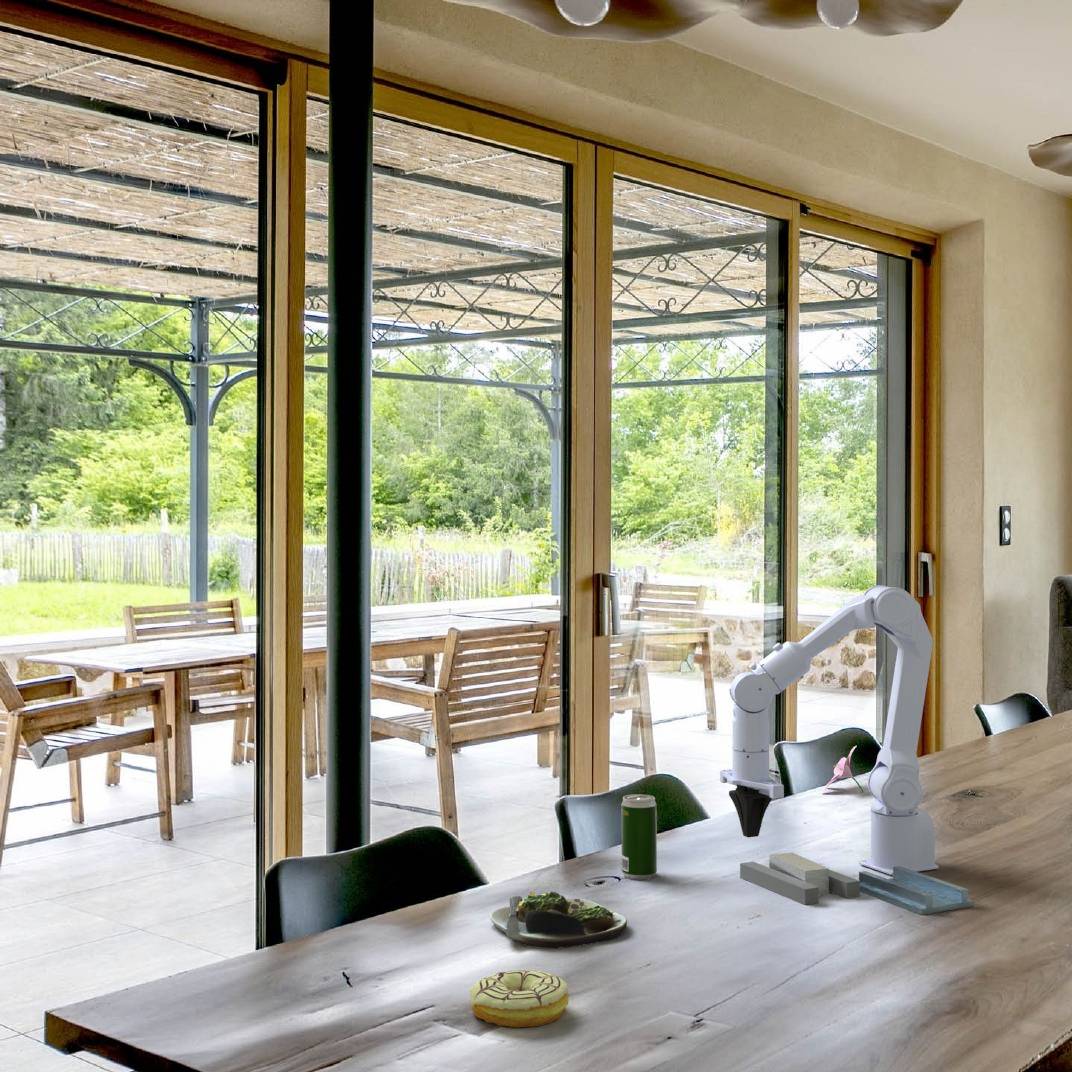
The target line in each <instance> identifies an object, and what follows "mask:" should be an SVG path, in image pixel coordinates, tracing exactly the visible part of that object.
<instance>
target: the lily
mask: <svg viewBox="0 0 1072 1072" xmlns="http://www.w3.org/2000/svg"><path fill="white" fill-rule="evenodd" d="M856 748H857V745H855V746H853V747H852V749H850V751H849V754H848V756H847V757H841V758H840V759H839V761H838V763H835V764H833V766H832V768H834V769H833V773H834V774H833V777H832V778H831V779H830V781H829V782H828V783H827V784H826V785H825V786H824V788H823V790H822V793H823V794H824V792H825V791H826V789H827V788H828V787H829V786H830V784H832V783H834V782H836V781H839V780H843V779H847V778H851V779H853V781H854V782H855V783H856V784H857V786H858V788H859V789H860V791H861V792H862V793H863V792H865V791H864V790H863V788H862V786H861V785H860V784H859V782H858V781H857V779H856V778H855V777H854V776H853V774H852V771H851V770H852V768H851V757H852V754H853V752H854V751H855V749H856ZM822 793H821V794H822Z"/></svg>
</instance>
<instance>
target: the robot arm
mask: <svg viewBox="0 0 1072 1072" xmlns="http://www.w3.org/2000/svg"><path fill="white" fill-rule="evenodd" d="M924 618H925V617H924V616H923V613H922V610H921V604H920V603H919V602H918V601H917V600H916V599H915V598H914V597H913V596H912V595H911V594H910V593H909V592H908V591H906V590H905V589H903V588H902V587H898V586H897V587H890V586H887V585H883V584H877V585H874V586H871V587H869V588H868V589H867V590H865V592H864V593H863V594H859V595H857V596H855V597H853V598H852V599H851V600H849V601H848V602H847V603H845V604H844V605H843V606H841V607H840V608H839V609H838V610H837V611H835V612H834V613H832V615H830V616H829V617H828V618H827V619H825V620H824V621H823V622H822V623H821V624H819V625H818V626H817V627H815V629H814V630H812V631H811V632H810V633H808V635H806V636H805V637H803V639H801V640H800V641H798V642H796V641H795V642H794V641H785V642H783V643H782V644H781V643H780V642H777V643H775V645H773V646H772V649H773V651H772V652H771V653H769V654H768V655H766V656H765V657H764V658H762V659H761V660H760V661H758V663H755V662H753V663H751V664H749V666H748V668H749V669H750V671H746V672H742V673H740V674H738V675H736V676H735V678H734V679H733V680H732V683H731V685H730V688H729V690H728V692H729V696H730V698H731V700H732V701H733V702H734V704H733V708H732V715H733V719H732V769H729V768H728V769H721V770H719V782H720V783H723V784H726V783H727V784H729V785H731V786H732V785H733V786H736V787H735V789H734V790H733V789H732V790H728V796H729V797H730V799H731V801H732V803H733V805H734V808H735V811H736V813H737V816H738V820H739V824H740V828H741V832H742V835H743V836H744V837H745V838H755V837H759V835H760V832H761V828H762V824H763V823H762V822H763V819H764V817H765V814H766V811H767V809H768V807H769V805H770V803H771V801H772V800H773V799H783V798H784V796H785V793H784V792H785V790H784V789H785V787H784V786H785V785H784V784H781V783H779V782H777V781H776V780H775V779H773V778H772V777H770V720H769V707H770V705H772V701H773V700H774V695H779V694H780V693H783V691H785V690H786V689H787V688H789V686H791V685H793V684H794V683H795V682H796V681H798V680H799V679H800V678H801V677H803V676H804V675H806V674H807V673H808V672H809V671H810V670H811V663H812V661H813V660H812V659H814V658H815V657H816V656H818V655H819V654H820V653H823V652H824V651H825V650H827V649H828V648H829V647H831V646H832V645H834V644H835V643H836V642H838V641H840V640H841V639H842V638H844V637H845V636H847V635H848V634H850V633H851V632H852V631H854V630H865V629H866V630H867V629H875V628H876V627H878V628H879V629H881V630H882V631H884V632H885V634H886V635H887V637H889V638H890V640H891V641H892V642H893V644H894V645H895V646H896V648H897V652H896V659H895V665H894V673H893V680H892V685H891V691H890V692H891V693H890V699H889V704H888V705H889V706H888V711H887V712H888V713H887V719H886V725H885V731H884V737H883V745H882V747H881V748H880V750H879V752H878V754H877V758H876V761H875V762H876V763H875V765H874V767H873V768H872V769H871V771H870V772H869V774H868V778H867V788H868V790H869V793H870V794H871V796H872V797H873V798H874V800H873V802H872V803H871V805H870V859H869V858H868V859H863V860H859V861H858V864H859V865H861V866H864V867H867V868H870V869H873V870H875V871H878V872H881V873H883V874H886V875H889V876H893V867H896V866H901V867H904V868H907V869H910V870H913V871H915V872H918V873H919V872H923V871H924V872H925V871H930V870H937V869H939V867H940V866H939V865H938V864H936V855H935V853H936V851H935V850H936V848H935V846H936V843H935V841H936V840H935V834H936V832H935V824H934V821H933V818H932V816H931V815H930V814H929V812H928V811H927V810H925V809H923V808H919V805H920V804H921V801H922V799H923V798H922V797H923V790H922V786H921V783H920V778H919V777H920V770H921V768H920V765H919V760H918V755H917V752H918V751H917V750H918V744H919V740H920V739H919V738H920V732H921V724H922V717H923V712H924V705H925V699H926V691H927V686H928V685H927V684H928V679H929V672H930V664H931V659H932V651H933V645H934V643H933V642H934V641H933V637H932V635H931V632H930V629H929V628H928V625H927V623H926V620H925V619H924Z"/></svg>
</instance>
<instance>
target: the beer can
mask: <svg viewBox="0 0 1072 1072" xmlns="http://www.w3.org/2000/svg"><path fill="white" fill-rule="evenodd" d="M655 800H656V797H655V796H654V795H651V794H639V793H638V794H627V795H624V796H622V802H621V805H620V806H621V810H620V814H621V816H620V817H621V823H620V824H621V826H620V827H621V872H622V875H623V876H624V878H627V879H630V880H636V881H638V880H639V881H640V880H643V881H645V880H650V879H653V878H655V877H656V874H657V871H658V869H657V868H658V867H657V866H658V857H657V854H658V852H657V850H658V848H657V847H658V846H657V842H658V841H657V840H658V839H657V837H658V836H657V835H658V834H657V831H658V829H657V825H658V824H657V822H658V821H657V802H656V801H655Z"/></svg>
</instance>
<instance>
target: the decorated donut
mask: <svg viewBox="0 0 1072 1072" xmlns="http://www.w3.org/2000/svg"><path fill="white" fill-rule="evenodd" d="M568 986H569V985H568V983H567V982H566V981H565V980H563V979H562V978H561V977H559V976H557V975H554V974H553V973H550V972H546V971H540V970H539V971H538V970H521V969H520V970H519V969H517V970H516V969H515V970H508V971H501V972H497V973H495V974H491V975H488V976H486V977H484V978H481V979H480V980H478V981H477V982H476V983H474V984H473V985H472V987H470V989H469V992H470V995H469V996H470V997H469V998H470V1000H469V1001H470V1006H471V1007H470V1008H471V1011H472V1012H473V1014H474V1016H475V1017H476V1018H478V1019H480V1020H484V1021H485V1023H486V1024H487V1023H488V1024H496V1025H497V1026H500V1027H505V1026H506V1027H511V1028H516V1029H517V1028H529V1027H533V1028H534V1027H539V1026H543V1025H548V1024H551V1023H552V1022H553V1021H554V1020H558V1019H559V1018H560V1016H561V1015H562V1013H563V1012H564V1010H565V1009H566V1007H567V1005H568V1004H569V995H570V994H569V988H568Z"/></svg>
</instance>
